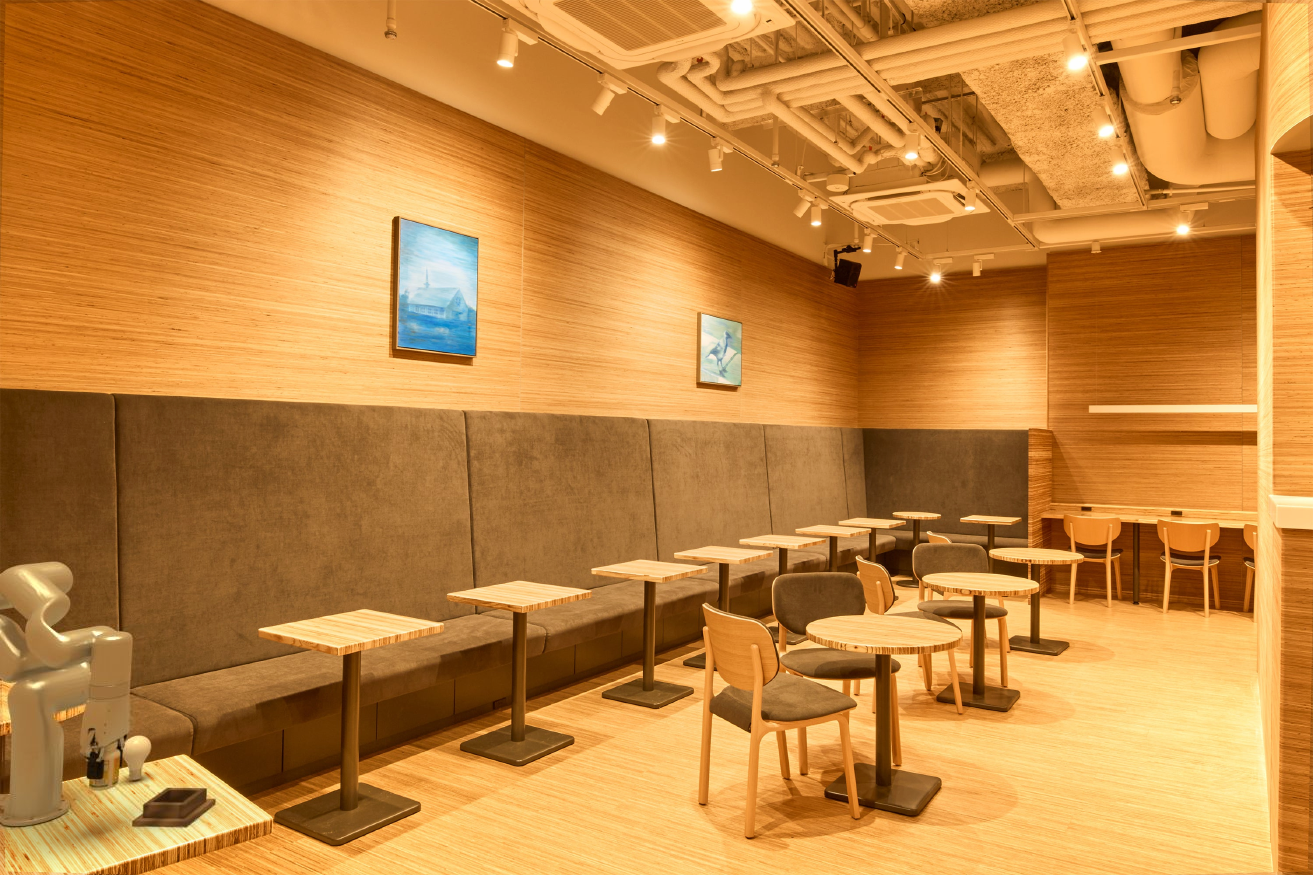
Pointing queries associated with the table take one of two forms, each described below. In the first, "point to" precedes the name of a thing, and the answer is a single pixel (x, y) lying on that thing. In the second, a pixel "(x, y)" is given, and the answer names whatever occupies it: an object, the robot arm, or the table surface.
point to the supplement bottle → (108, 768)
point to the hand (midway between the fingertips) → (104, 771)
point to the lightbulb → (136, 755)
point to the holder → (174, 808)
